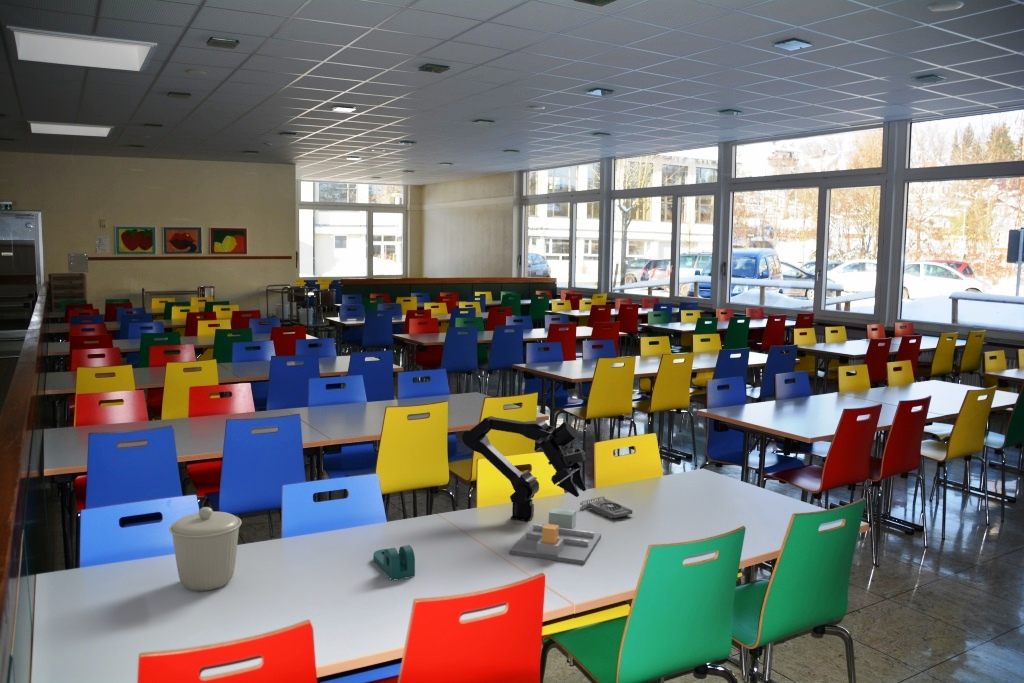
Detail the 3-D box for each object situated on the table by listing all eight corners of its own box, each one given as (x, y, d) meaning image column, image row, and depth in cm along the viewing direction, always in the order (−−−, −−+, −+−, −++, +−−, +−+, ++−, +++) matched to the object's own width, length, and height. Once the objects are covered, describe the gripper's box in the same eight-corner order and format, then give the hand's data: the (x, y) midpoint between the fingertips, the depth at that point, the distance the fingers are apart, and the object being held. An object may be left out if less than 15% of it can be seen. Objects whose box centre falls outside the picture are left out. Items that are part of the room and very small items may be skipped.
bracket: (414, 576, 223) (415, 549, 222) (391, 581, 220) (392, 553, 219) (391, 555, 238) (392, 529, 238) (370, 558, 235) (370, 533, 234)
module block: (548, 527, 265) (549, 512, 265) (552, 522, 270) (553, 508, 270) (571, 530, 263) (572, 515, 262) (575, 525, 268) (576, 511, 267)
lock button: (542, 543, 239) (542, 527, 239) (545, 539, 243) (546, 523, 243) (554, 545, 238) (555, 529, 238) (558, 541, 242) (558, 525, 241)
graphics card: (578, 500, 284) (603, 494, 291) (577, 510, 285) (603, 504, 291) (609, 514, 270) (635, 508, 277) (609, 525, 271) (635, 518, 278)
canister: (188, 568, 224) (186, 496, 222) (252, 571, 224) (251, 498, 221) (158, 596, 206) (156, 517, 204) (227, 598, 206) (225, 520, 204)
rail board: (509, 553, 241) (510, 540, 240) (532, 528, 263) (533, 515, 263) (584, 564, 234) (584, 550, 233) (601, 537, 256) (601, 524, 256)
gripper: (566, 445, 256) (594, 486, 253) (580, 437, 273) (607, 475, 270) (539, 464, 259) (566, 504, 256) (555, 454, 276) (581, 492, 274)
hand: (581, 493), depth 264 cm, fingers open, 9 cm apart
